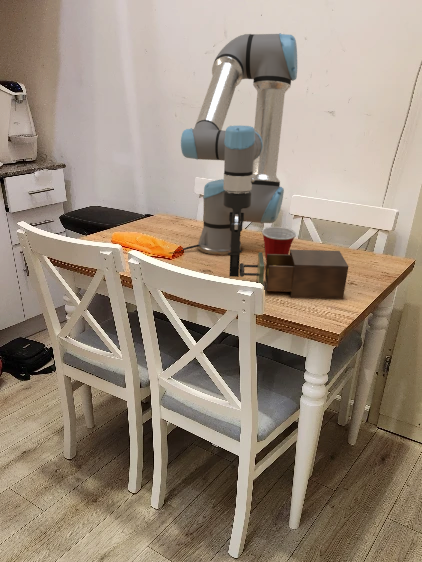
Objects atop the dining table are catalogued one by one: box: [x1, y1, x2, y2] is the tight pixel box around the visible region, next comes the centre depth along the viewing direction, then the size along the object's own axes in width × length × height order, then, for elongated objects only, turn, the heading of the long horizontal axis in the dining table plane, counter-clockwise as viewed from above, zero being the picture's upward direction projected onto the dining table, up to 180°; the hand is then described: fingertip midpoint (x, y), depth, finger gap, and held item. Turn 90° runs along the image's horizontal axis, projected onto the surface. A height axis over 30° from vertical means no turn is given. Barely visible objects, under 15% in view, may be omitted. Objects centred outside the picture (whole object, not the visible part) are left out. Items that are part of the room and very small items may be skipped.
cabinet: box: [289, 249, 349, 300], centre depth 140 cm, size 15×14×10 cm
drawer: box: [239, 251, 294, 293], centre depth 140 cm, size 19×12×8 cm, turn 87°
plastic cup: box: [261, 226, 297, 261], centre depth 154 cm, size 11×11×12 cm
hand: (234, 275), depth 141 cm, fingers closed
